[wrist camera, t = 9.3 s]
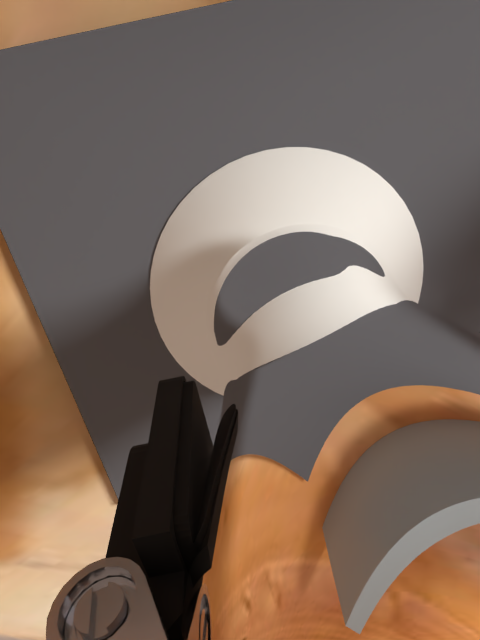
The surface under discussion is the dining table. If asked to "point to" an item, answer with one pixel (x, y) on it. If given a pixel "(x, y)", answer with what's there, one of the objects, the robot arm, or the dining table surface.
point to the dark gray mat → (230, 175)
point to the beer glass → (336, 453)
